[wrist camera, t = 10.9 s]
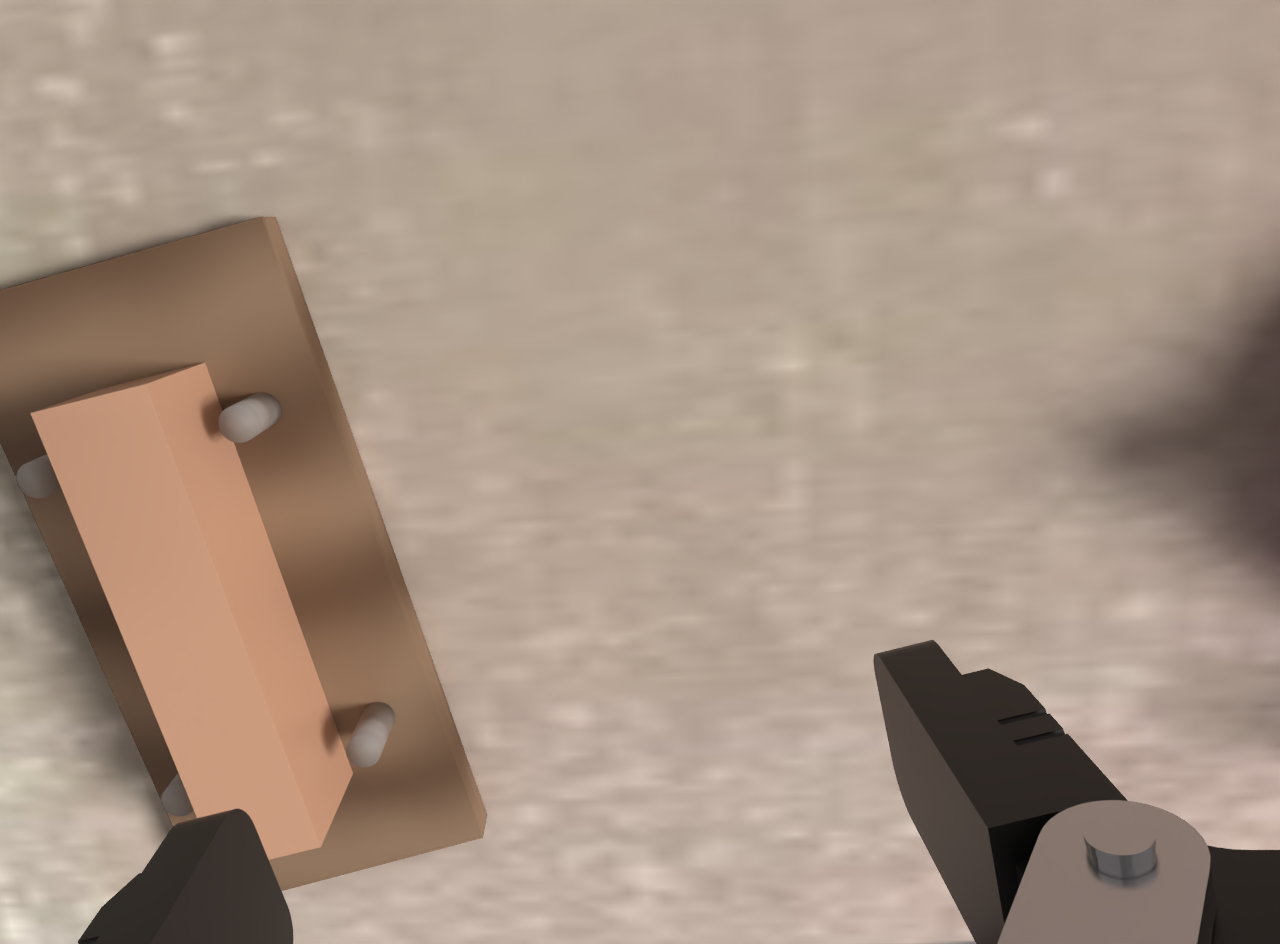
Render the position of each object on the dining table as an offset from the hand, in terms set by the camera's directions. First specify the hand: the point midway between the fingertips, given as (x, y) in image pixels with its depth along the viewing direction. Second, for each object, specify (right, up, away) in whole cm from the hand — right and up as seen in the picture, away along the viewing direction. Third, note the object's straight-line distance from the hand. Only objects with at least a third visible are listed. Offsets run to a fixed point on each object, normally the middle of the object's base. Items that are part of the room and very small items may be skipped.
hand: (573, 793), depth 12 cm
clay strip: (-14, 0, +23) cm, 27 cm away
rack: (-14, 0, +24) cm, 28 cm away
